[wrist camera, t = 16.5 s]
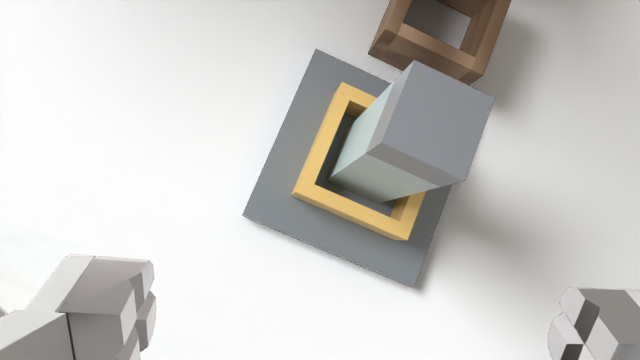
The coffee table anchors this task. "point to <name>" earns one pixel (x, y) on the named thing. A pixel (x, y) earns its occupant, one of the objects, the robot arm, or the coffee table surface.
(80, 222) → the coffee table surface
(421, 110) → the plug
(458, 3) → the box
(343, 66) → the dock
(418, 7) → the coffee table surface
